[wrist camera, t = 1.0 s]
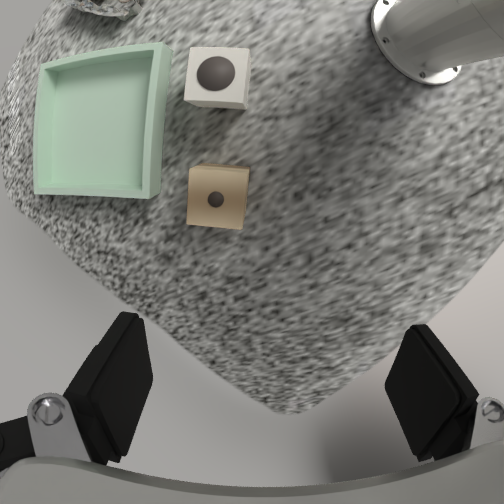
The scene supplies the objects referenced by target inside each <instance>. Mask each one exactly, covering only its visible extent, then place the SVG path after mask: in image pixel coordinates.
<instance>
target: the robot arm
mask: <svg viewBox="0 0 504 504" xmlns="http://www.w3.org/2000/svg"><path fill="white" fill-rule="evenodd" d="M371 27H372V32H373V35H374V38H375V40H376V43H377V44H378V46H379V48H380V50H381V51H382V53H383V54H384V55H385V57H386V58H387V59H388V60H389V61H390V62H391V64H392V65H393V66H394V67H395V68H397V69H398V70H399V71H400V72H402V73H403V74H404V75H406V76H407V77H409V78H411V79H413V80H415V81H417V82H420V83H423V84H428V85H439V84H444V83H447V82H450V81H451V80H453V79H454V78H456V76H457V75H458V74H459V72H460V70H461V68H462V65H465V64H469V63H474V62H478V61H483V60H487V59H492V58H497V57H503V56H504V0H378V1H377V2H376V4H375V5H374V7H373V9H372V13H371ZM383 41H384V42H383ZM152 381H153V373H152V368H151V363H150V357H149V351H148V345H147V339H146V333H145V326H144V320H143V319H142V318H139V315H138V314H137V313H130V312H121V313H120V314H119V315H118V317H117V318H116V320H115V321H114V322H113V324H112V325H111V327H110V328H109V329H108V331H107V332H106V334H105V335H104V337H103V338H102V340H101V341H100V342H99V344H98V345H96V346H95V347H94V348H93V349H92V351H91V352H90V354H89V355H88V357H87V358H86V360H85V361H84V363H83V365H82V366H81V368H80V369H79V370H78V372H77V374H76V375H75V377H74V378H73V380H72V381H71V383H70V384H69V387H68V388H67V389H66V391H65V392H64V394H63V396H61V395H59V394H56V393H44V394H42V395H39V396H38V397H36V398H35V399H34V400H32V402H31V403H30V404H29V406H28V409H27V416H24V417H21V418H18V419H14V420H11V421H7V422H4V423H0V504H504V405H503V404H502V403H501V402H500V401H499V400H497V399H495V398H490V397H487V398H483V399H481V400H480V401H479V402H478V403H477V401H476V399H477V397H478V396H479V393H478V392H477V390H476V389H475V387H474V386H473V384H472V383H471V382H470V380H469V379H468V377H467V376H466V375H465V373H464V372H463V371H462V369H461V368H460V367H459V366H458V364H457V363H456V361H455V360H454V359H453V357H452V356H451V355H450V353H449V352H448V351H447V350H446V348H445V347H444V346H443V344H442V343H441V342H440V341H439V339H438V338H437V337H436V336H435V334H434V333H433V332H432V331H431V329H430V328H429V327H428V326H427V325H425V324H421V325H412V326H411V327H410V328H409V329H407V331H406V332H405V335H404V338H403V340H402V343H401V346H400V349H399V351H398V353H397V356H396V358H395V361H394V363H393V365H392V368H391V370H390V372H389V375H388V377H387V379H386V382H385V390H386V393H387V395H388V397H389V399H390V401H391V404H392V406H393V408H394V411H395V413H396V415H397V418H398V420H399V422H400V425H401V427H402V429H403V432H404V434H405V436H406V439H407V441H408V444H409V446H410V449H411V451H412V453H413V455H415V456H417V459H418V461H419V462H421V461H424V460H427V459H431V458H432V456H433V457H434V462H431V463H427V464H424V465H421V466H417V467H414V468H410V469H406V470H402V471H398V472H394V473H390V474H385V475H380V476H375V477H370V478H365V479H359V480H353V481H346V482H339V483H331V484H321V485H310V486H295V487H237V486H222V485H221V486H220V485H210V484H201V483H192V482H185V481H179V480H172V479H166V478H160V477H155V476H149V475H144V474H140V473H135V472H131V471H126V470H123V469H118V468H114V467H109V466H106V465H107V463H108V460H110V461H113V462H117V463H119V462H120V459H121V456H126V455H127V453H128V450H129V448H130V444H131V442H132V439H133V436H134V433H135V430H136V427H137V424H138V421H139V419H140V416H141V413H142V410H143V407H144V405H145V402H146V399H147V397H148V394H149V391H150V389H151V386H152Z"/></svg>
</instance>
